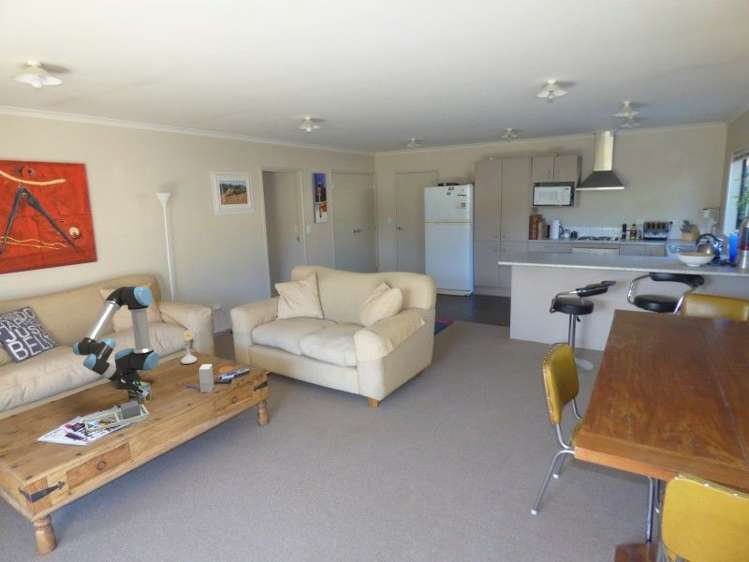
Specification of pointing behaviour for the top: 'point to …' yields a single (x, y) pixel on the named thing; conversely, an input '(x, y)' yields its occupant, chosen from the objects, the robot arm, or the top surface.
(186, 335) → the flower in vase
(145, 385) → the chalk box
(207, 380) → the skincare box
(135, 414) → the grey block
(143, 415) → the caddy
